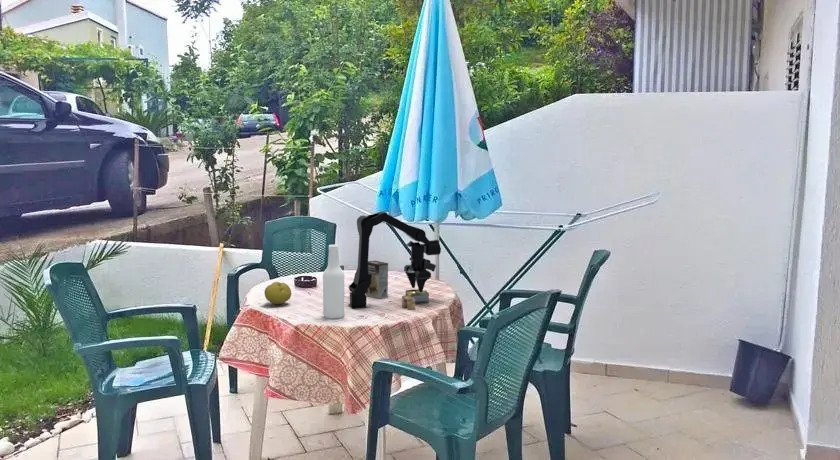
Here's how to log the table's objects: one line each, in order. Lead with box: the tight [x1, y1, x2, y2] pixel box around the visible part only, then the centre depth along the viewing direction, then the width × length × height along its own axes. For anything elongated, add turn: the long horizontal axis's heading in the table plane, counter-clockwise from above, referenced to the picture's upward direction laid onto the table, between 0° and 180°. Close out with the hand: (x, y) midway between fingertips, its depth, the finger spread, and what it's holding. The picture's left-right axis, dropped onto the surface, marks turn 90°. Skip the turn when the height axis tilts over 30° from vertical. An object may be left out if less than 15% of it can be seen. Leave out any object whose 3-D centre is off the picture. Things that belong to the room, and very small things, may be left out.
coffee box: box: [365, 260, 389, 300], centre depth 340 cm, size 9×6×16 cm
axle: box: [405, 289, 428, 296], centre depth 331 cm, size 9×3×3 cm, turn 111°
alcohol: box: [322, 243, 346, 320], centre depth 302 cm, size 9×9×30 cm
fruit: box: [264, 281, 292, 306], centre depth 323 cm, size 11×12×10 cm
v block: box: [405, 289, 430, 305], centre depth 331 cm, size 8×9×5 cm
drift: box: [401, 301, 408, 310], centre depth 320 cm, size 5×3×3 cm, turn 109°
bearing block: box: [401, 294, 416, 311], centre depth 320 cm, size 3×8×4 cm, turn 21°
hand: (417, 290), depth 331 cm, fingers open, 9 cm apart
